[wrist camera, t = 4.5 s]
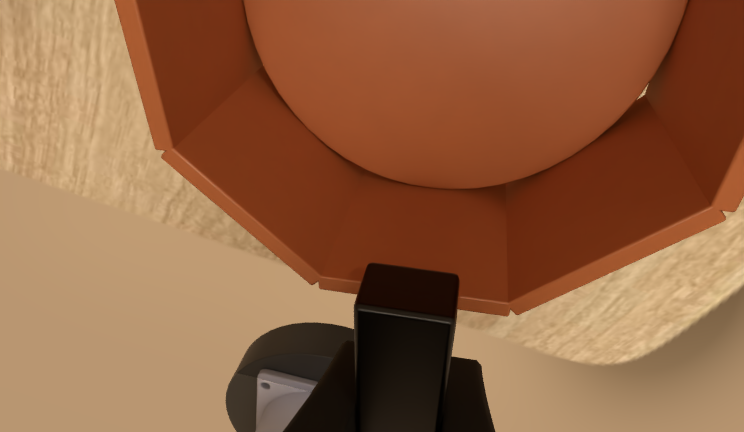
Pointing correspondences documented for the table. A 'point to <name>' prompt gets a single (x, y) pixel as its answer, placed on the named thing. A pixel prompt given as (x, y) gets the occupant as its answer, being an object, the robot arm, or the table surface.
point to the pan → (447, 150)
